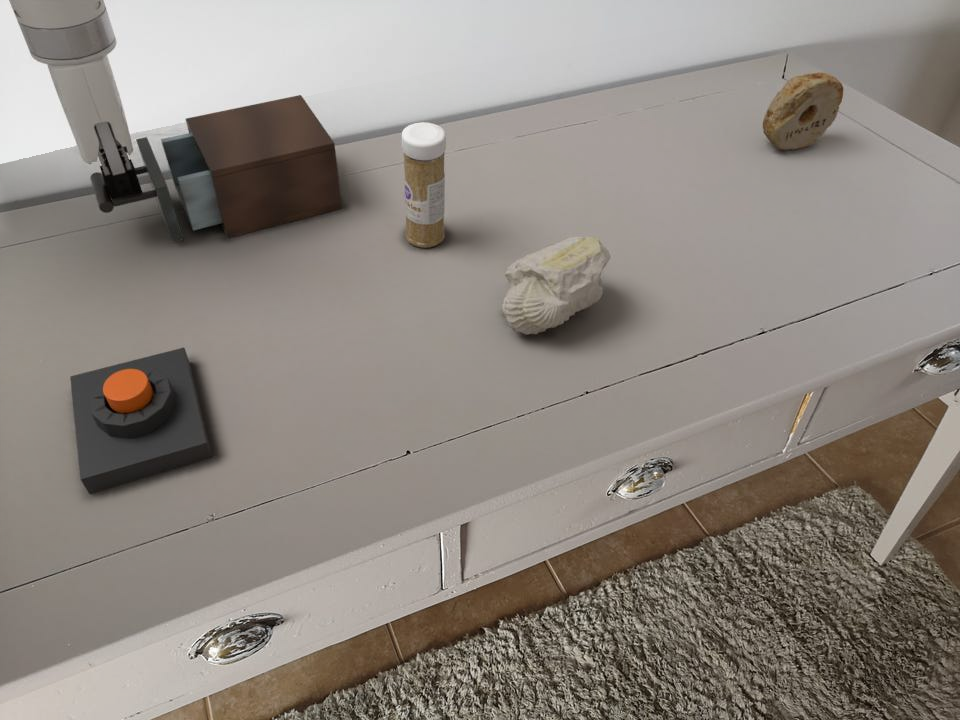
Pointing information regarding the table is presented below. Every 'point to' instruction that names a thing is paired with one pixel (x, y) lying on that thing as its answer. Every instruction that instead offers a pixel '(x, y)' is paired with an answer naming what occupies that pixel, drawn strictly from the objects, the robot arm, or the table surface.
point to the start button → (128, 390)
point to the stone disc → (802, 110)
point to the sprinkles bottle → (424, 183)
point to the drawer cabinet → (268, 163)
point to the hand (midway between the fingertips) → (127, 197)
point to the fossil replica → (554, 284)
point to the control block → (138, 424)
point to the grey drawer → (188, 182)
